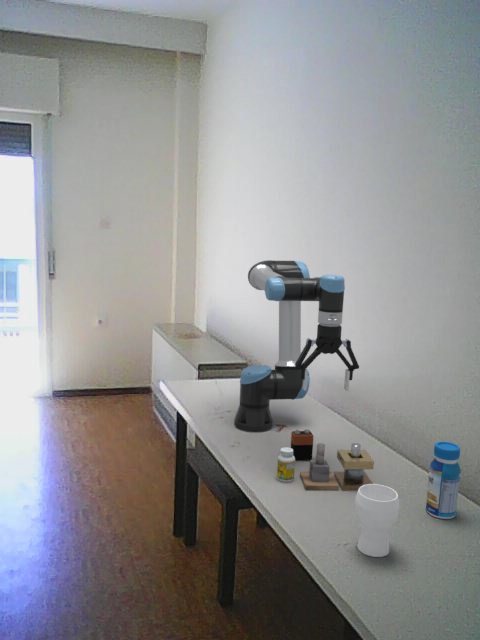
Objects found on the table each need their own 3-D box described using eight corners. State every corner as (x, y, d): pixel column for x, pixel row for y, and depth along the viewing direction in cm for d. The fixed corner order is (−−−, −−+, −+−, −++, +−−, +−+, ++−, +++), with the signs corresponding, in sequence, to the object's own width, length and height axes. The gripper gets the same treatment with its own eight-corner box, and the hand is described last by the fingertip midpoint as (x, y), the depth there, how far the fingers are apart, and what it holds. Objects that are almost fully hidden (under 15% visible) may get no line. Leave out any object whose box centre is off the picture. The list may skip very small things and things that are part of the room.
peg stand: (333, 476, 189) (336, 438, 187) (364, 476, 190) (367, 438, 188) (341, 490, 179) (344, 451, 177) (373, 490, 180) (377, 451, 178)
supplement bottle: (297, 481, 184) (298, 451, 183) (281, 483, 182) (283, 454, 180) (289, 474, 189) (290, 445, 187) (273, 476, 187) (275, 447, 185)
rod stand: (299, 475, 188) (301, 438, 186) (330, 475, 189) (333, 438, 187) (305, 490, 178) (307, 450, 176) (338, 490, 179) (341, 451, 177)
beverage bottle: (452, 523, 162) (460, 454, 158) (421, 514, 166) (428, 446, 163) (459, 511, 169) (466, 444, 165) (429, 502, 173) (435, 437, 170)
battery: (312, 460, 200) (314, 432, 198) (292, 461, 199) (294, 432, 198) (309, 455, 204) (310, 428, 203) (289, 455, 204) (291, 428, 202)
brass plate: (337, 457, 187) (337, 449, 187) (364, 457, 188) (365, 449, 188) (344, 469, 178) (344, 461, 178) (373, 469, 179) (374, 461, 179)
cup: (346, 537, 152) (350, 482, 150) (387, 537, 153) (391, 482, 151) (358, 561, 142) (363, 502, 139) (401, 560, 143) (406, 502, 140)
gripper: (292, 325, 182) (288, 392, 185) (372, 327, 184) (366, 393, 187) (288, 321, 189) (285, 385, 193) (365, 323, 191) (360, 386, 195)
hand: (325, 389), depth 190 cm, fingers open, 13 cm apart
